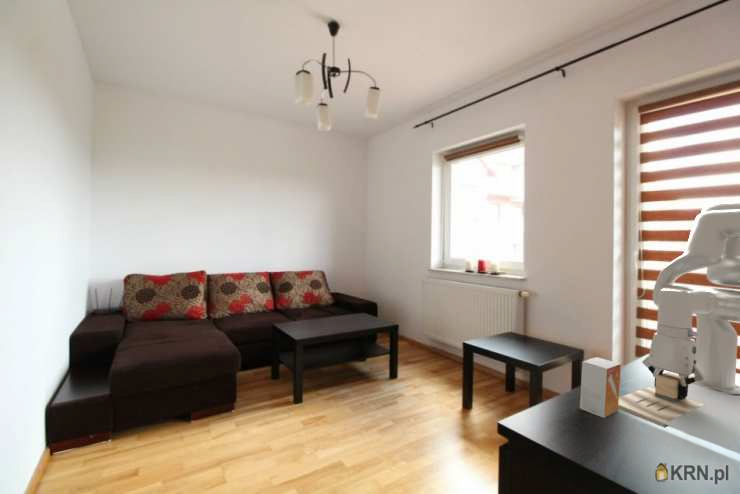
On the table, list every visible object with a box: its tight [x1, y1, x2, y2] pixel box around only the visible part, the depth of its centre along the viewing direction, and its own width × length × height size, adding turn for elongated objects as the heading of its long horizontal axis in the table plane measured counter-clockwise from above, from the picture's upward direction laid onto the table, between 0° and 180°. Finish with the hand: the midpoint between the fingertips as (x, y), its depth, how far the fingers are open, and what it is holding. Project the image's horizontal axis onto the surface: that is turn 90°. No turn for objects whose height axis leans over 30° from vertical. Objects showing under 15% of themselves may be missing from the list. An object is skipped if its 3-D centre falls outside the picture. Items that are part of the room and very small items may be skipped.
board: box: [618, 386, 705, 428], centre depth 99 cm, size 23×13×1 cm, turn 119°
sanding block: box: [654, 371, 687, 403], centre depth 103 cm, size 7×4×6 cm, turn 119°
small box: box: [579, 356, 622, 419], centre depth 96 cm, size 8×6×13 cm
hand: (670, 393), depth 103 cm, fingers closed on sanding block, 4 cm apart
